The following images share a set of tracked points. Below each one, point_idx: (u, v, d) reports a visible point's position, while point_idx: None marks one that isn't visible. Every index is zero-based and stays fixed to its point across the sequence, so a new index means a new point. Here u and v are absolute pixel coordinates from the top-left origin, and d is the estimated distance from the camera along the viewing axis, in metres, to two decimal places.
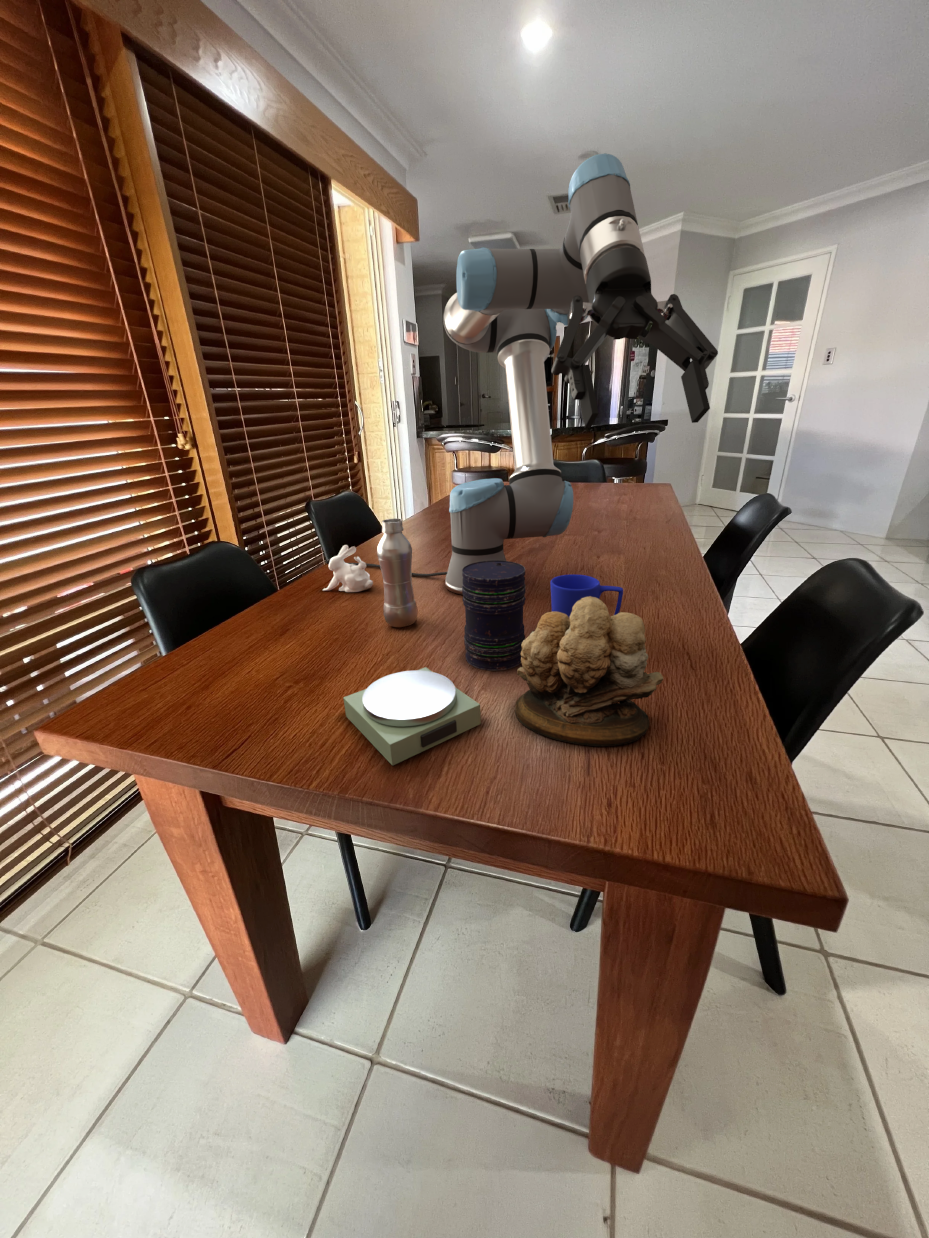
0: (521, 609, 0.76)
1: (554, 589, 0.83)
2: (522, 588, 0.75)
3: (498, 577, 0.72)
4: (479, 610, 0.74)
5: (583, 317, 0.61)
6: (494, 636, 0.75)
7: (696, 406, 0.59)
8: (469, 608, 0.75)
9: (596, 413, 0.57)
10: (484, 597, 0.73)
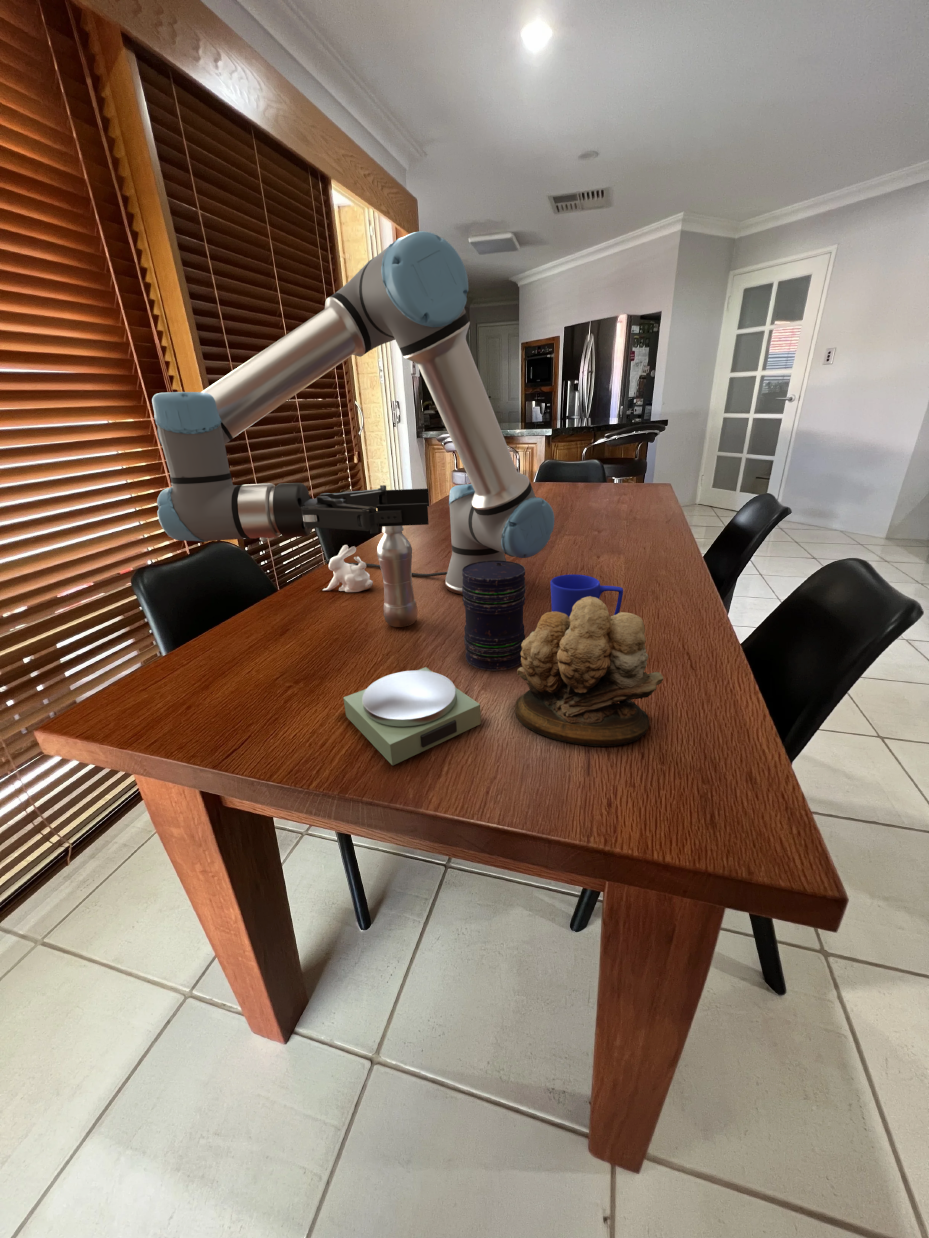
0: (521, 609, 0.76)
1: (554, 589, 0.83)
2: (522, 588, 0.75)
3: (498, 577, 0.72)
4: (479, 610, 0.74)
5: None
6: (494, 636, 0.75)
7: None
8: (469, 608, 0.75)
9: None
10: (484, 597, 0.73)
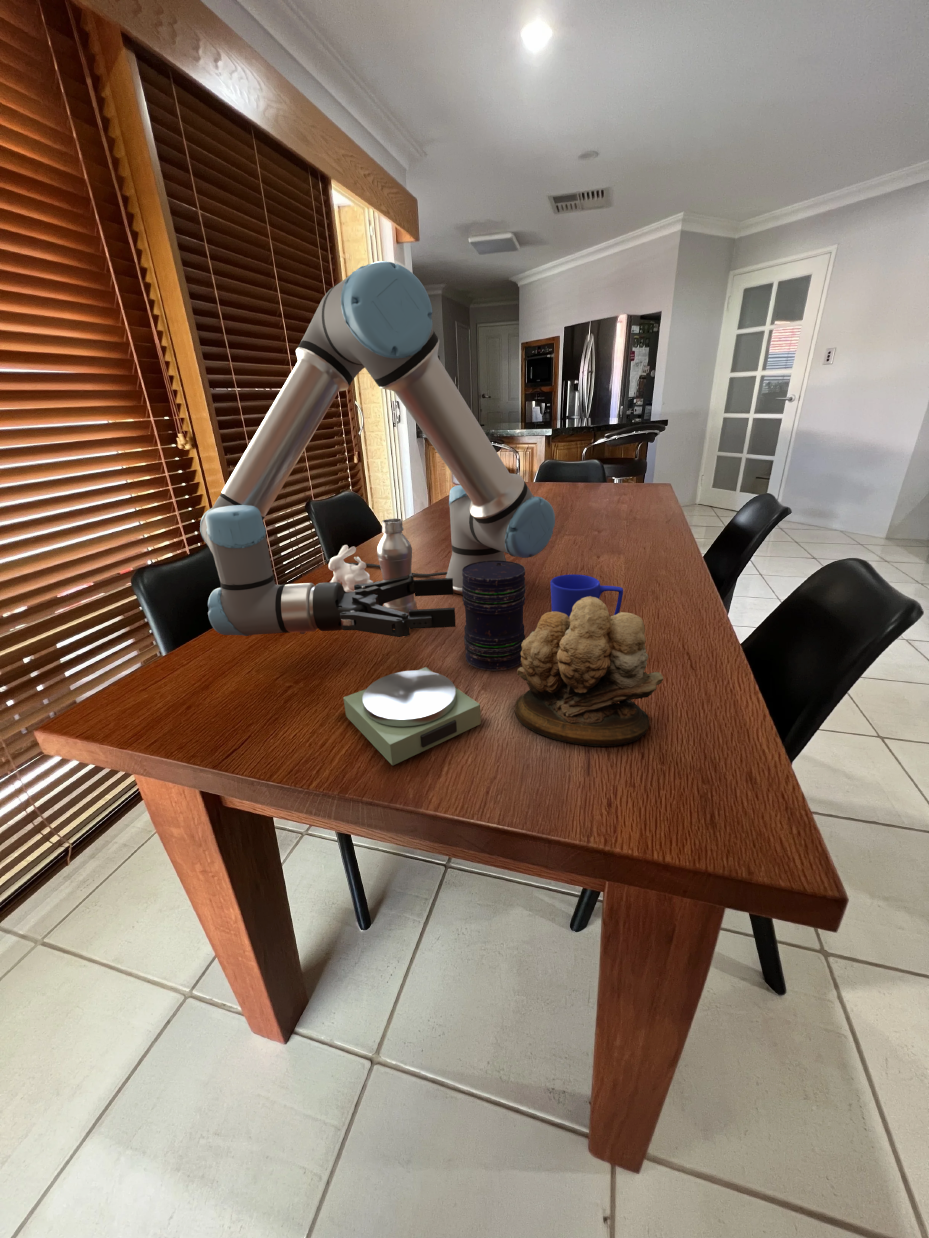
0: (521, 609, 0.76)
1: (554, 589, 0.83)
2: (522, 588, 0.75)
3: (498, 577, 0.72)
4: (479, 610, 0.74)
5: None
6: (494, 636, 0.75)
7: None
8: (469, 608, 0.75)
9: None
10: (484, 597, 0.73)
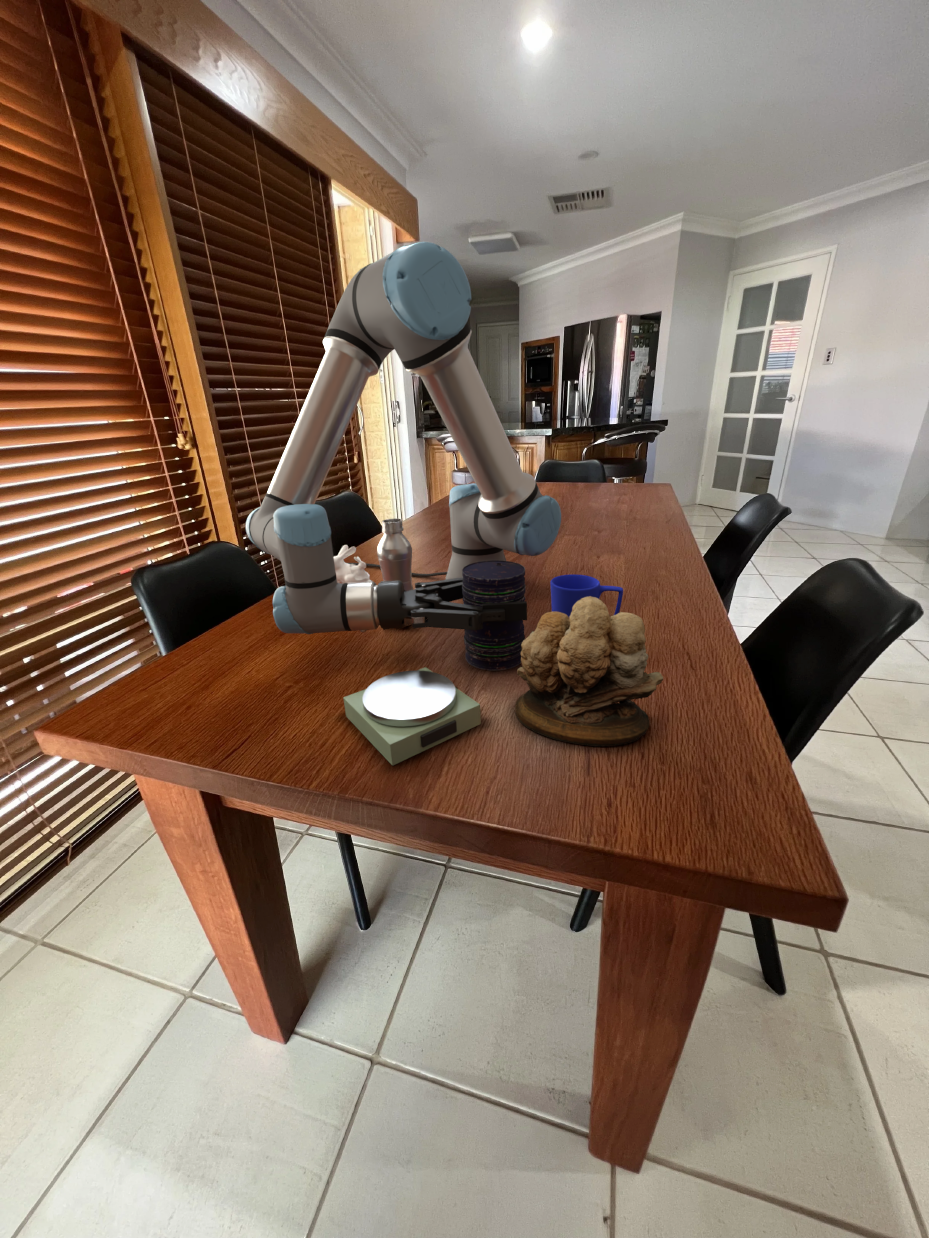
0: None
1: (554, 589, 0.83)
2: (522, 588, 0.75)
3: (498, 577, 0.72)
4: None
5: None
6: (493, 636, 0.75)
7: None
8: None
9: None
10: (484, 597, 0.73)
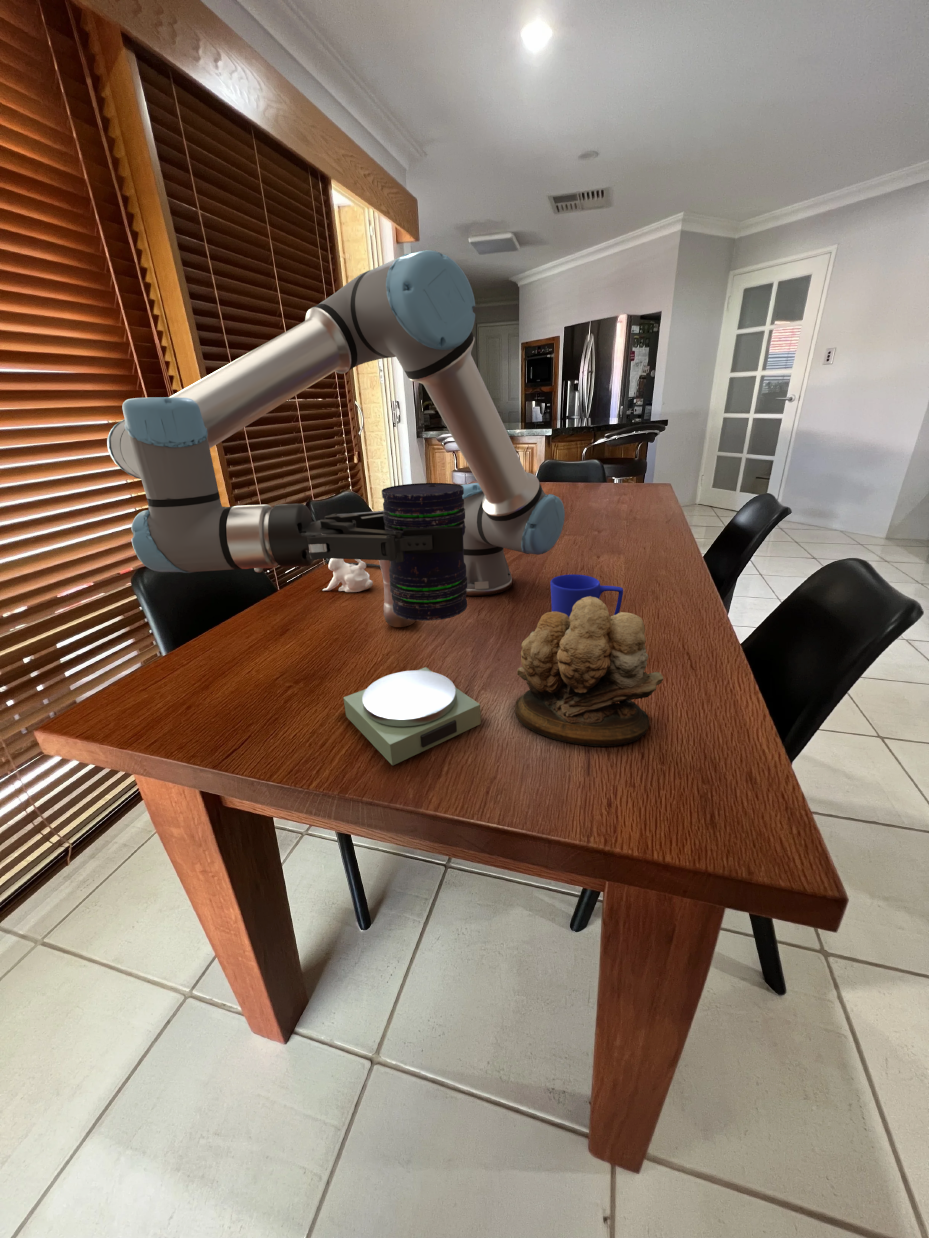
0: None
1: (554, 589, 0.83)
2: (459, 512, 0.58)
3: (424, 494, 0.55)
4: None
5: None
6: (422, 574, 0.58)
7: None
8: None
9: None
10: (407, 521, 0.55)
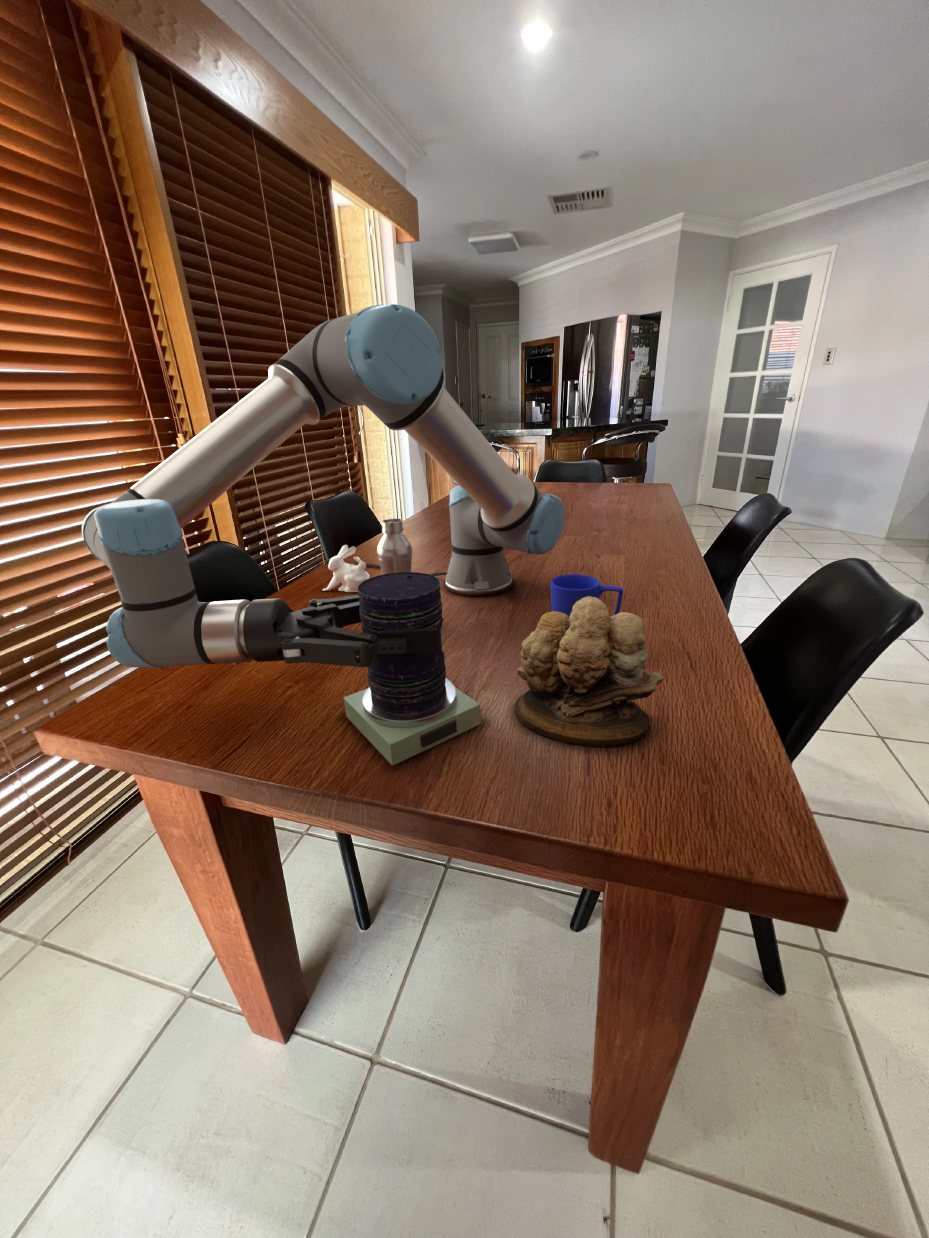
0: None
1: (554, 589, 0.83)
2: (435, 609, 0.57)
3: (399, 596, 0.55)
4: None
5: None
6: (398, 672, 0.58)
7: None
8: None
9: None
10: (382, 622, 0.55)
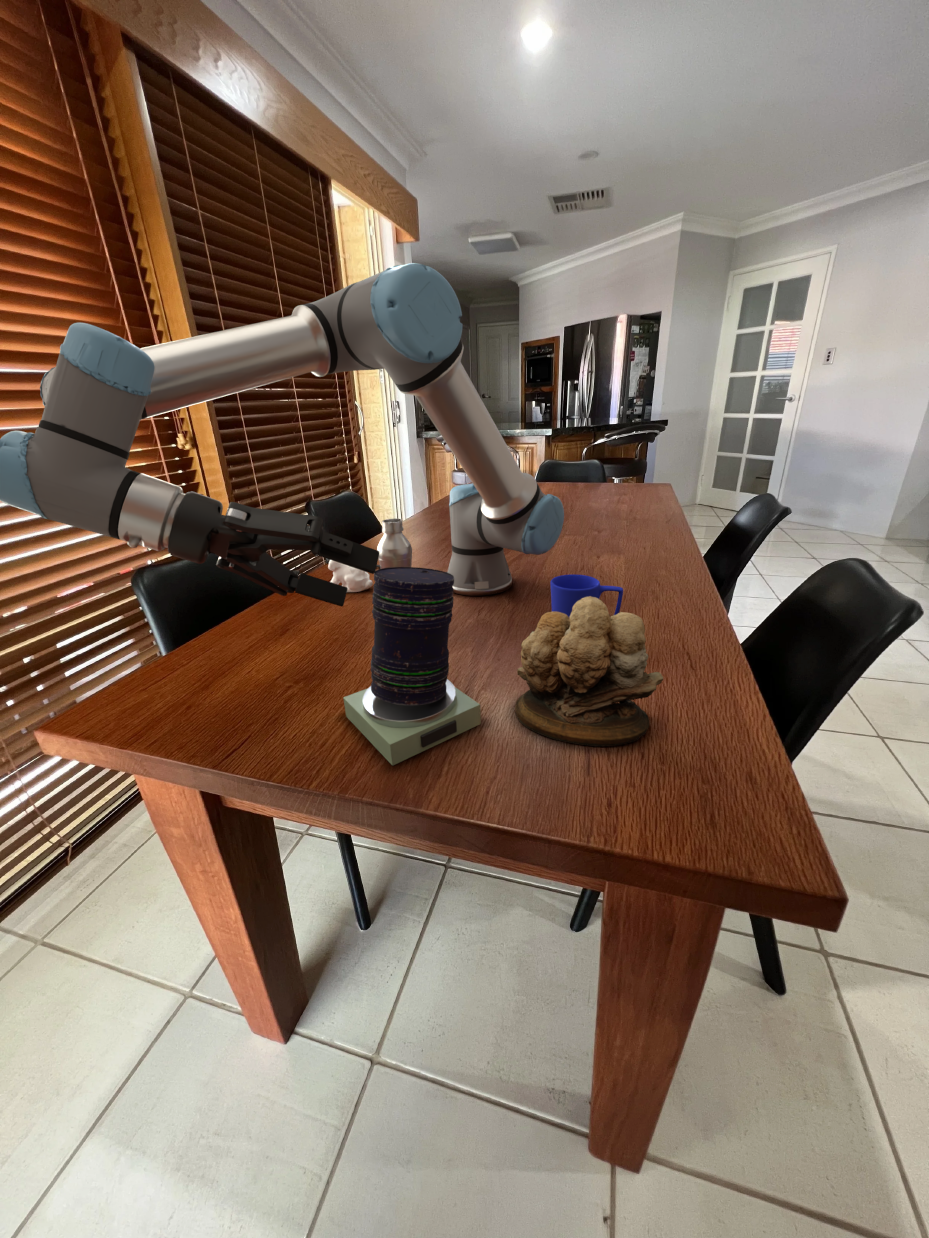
0: (444, 629, 0.59)
1: (554, 589, 0.83)
2: (447, 601, 0.59)
3: (415, 582, 0.56)
4: (388, 622, 0.57)
5: None
6: (404, 659, 0.58)
7: None
8: (377, 619, 0.58)
9: (342, 605, 0.69)
10: (395, 605, 0.56)
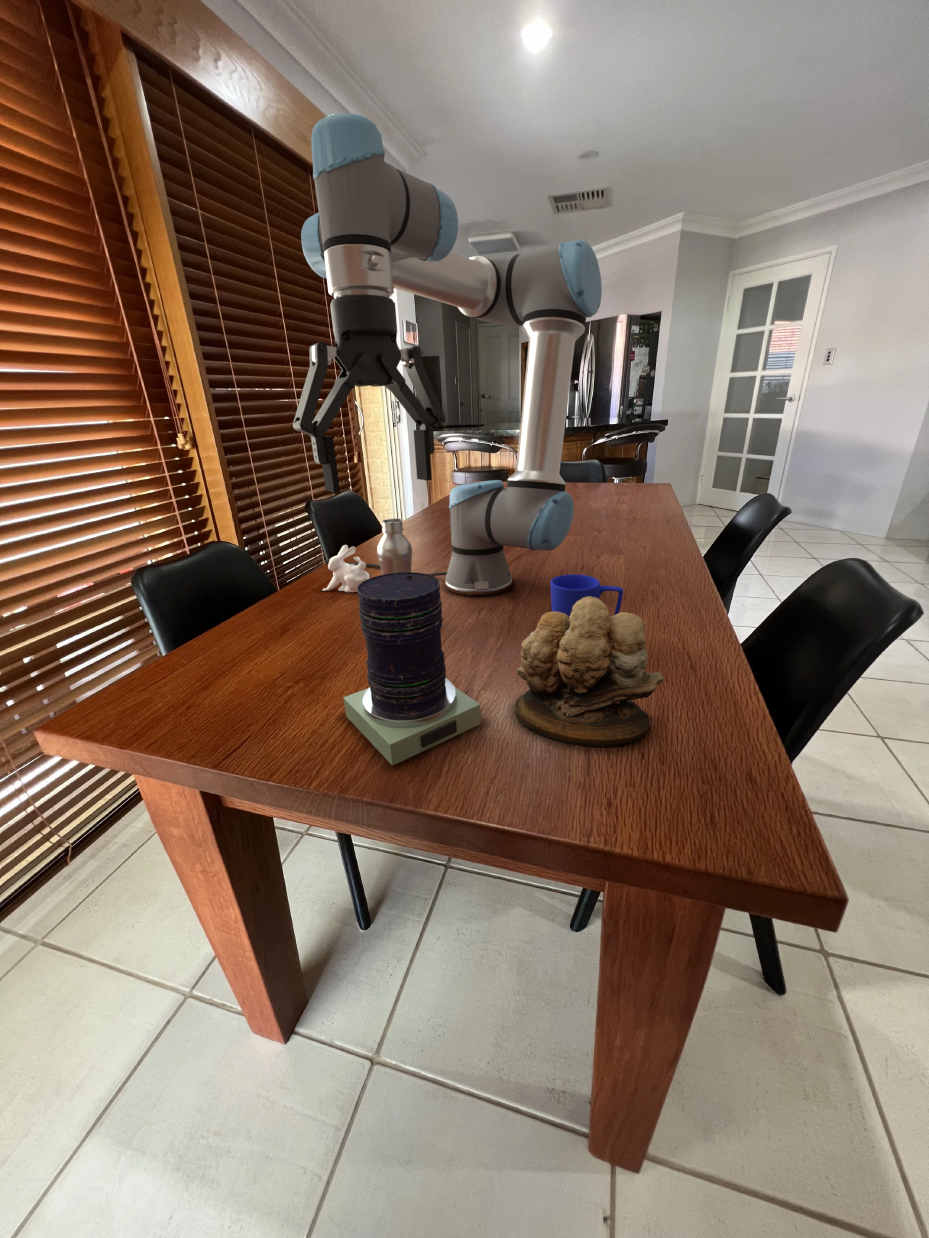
0: (435, 636, 0.59)
1: (554, 589, 0.83)
2: (435, 610, 0.57)
3: (399, 596, 0.55)
4: (377, 639, 0.56)
5: None
6: (398, 672, 0.58)
7: (422, 471, 0.69)
8: (366, 636, 0.58)
9: (338, 491, 0.62)
10: (382, 622, 0.55)
